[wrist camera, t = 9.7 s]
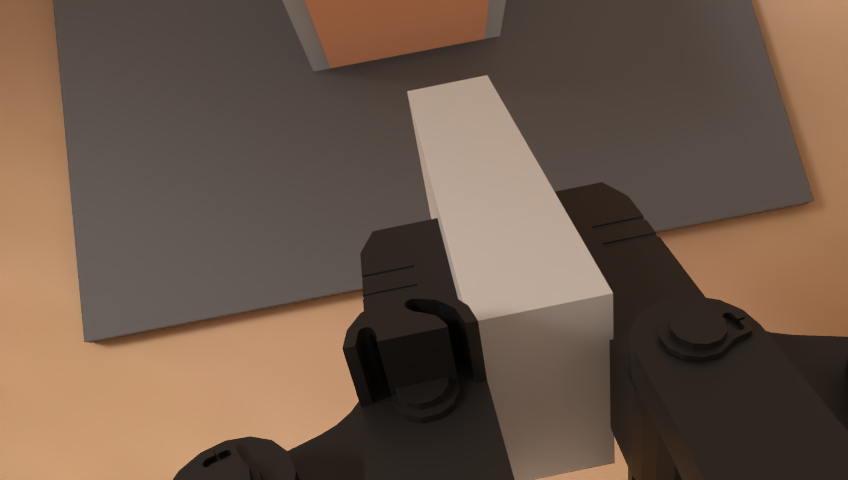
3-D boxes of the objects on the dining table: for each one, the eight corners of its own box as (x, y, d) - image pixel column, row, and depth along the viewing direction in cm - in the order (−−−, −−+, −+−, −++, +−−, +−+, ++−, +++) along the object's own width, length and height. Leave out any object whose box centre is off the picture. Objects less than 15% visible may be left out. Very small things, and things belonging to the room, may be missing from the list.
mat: (91, 342, 20) (84, 342, 20) (43, -165, 24) (37, -174, 23) (806, 203, 20) (814, 200, 20) (655, -280, 24) (659, -291, 23)
